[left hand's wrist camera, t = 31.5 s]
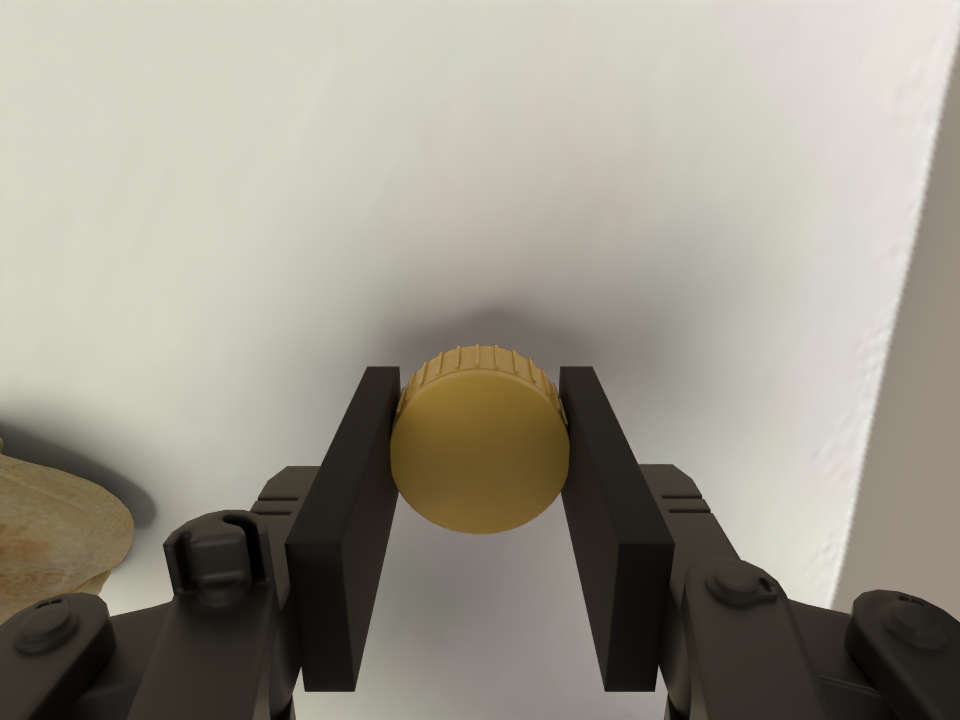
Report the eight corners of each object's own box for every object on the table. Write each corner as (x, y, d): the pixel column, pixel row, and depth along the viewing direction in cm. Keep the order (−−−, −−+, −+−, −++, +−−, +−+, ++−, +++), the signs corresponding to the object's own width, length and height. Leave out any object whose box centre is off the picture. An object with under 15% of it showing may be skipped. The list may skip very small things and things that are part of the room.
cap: (485, 518, 16) (486, 567, 14) (362, 426, 15) (347, 465, 13) (597, 414, 15) (613, 452, 13) (472, 307, 14) (471, 332, 12)
